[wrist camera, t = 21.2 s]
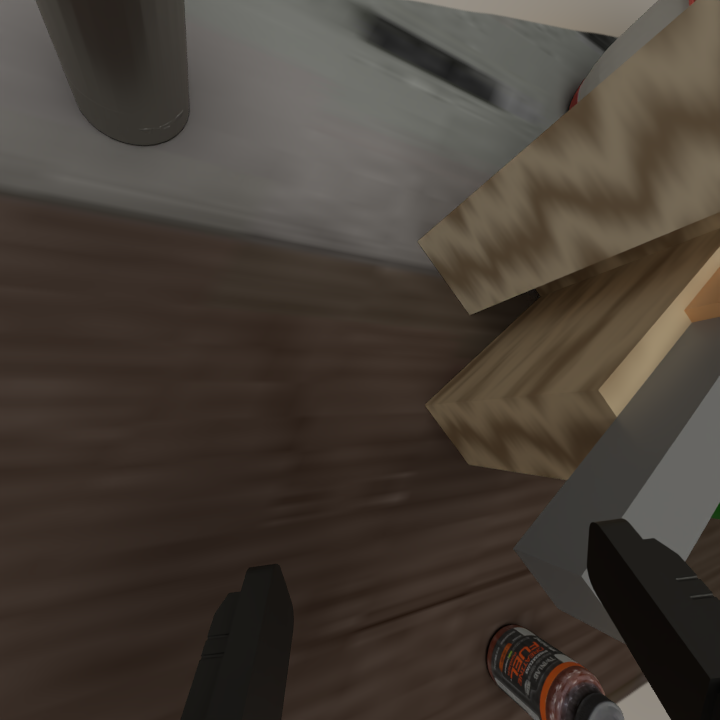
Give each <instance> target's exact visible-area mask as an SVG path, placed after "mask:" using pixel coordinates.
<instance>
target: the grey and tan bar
mask: <svg viewBox="0 0 720 720" xmlns="http://www.w3.org/2000/svg"><path fill="white" fill-rule="evenodd" d="M684 311H685V313H686V314H687V316H688V317H689V319H690V320H691V322H692V323H691V324H690V325H689V327H688V328H687V329H686V331H685V332H684V333H683V334H682V336H681V337H680V338H679V339H678V341H677V342H676V343H675V344H674V346H673V347H672V348H671V350H670V351H669V352H668V353H667V355H666V356H665V357H664V358H663V360H662V361H661V362H660V363H659V365H658V366H657V367H656V369H655V370H654V371H653V372H652V374H651V375H650V376H649V377H648V379H647V380H646V381H645V382H644V384H643V385H642V386H641V388H640V389H639V390H638V391H637V393H636V394H635V395H634V396H633V398H632V399H631V400H630V401H629V403H628V404H627V405H626V406H625V408H624V409H623V410H622V412H621V413H620V414H619V415H618V417H617V418H616V419H615V420H614V422H613V423H612V424H611V425H610V427H609V428H608V429H607V431H606V432H605V433H604V434H603V436H602V437H601V438H600V439H599V441H598V442H597V443H596V444H595V446H594V447H593V448H592V450H591V451H590V452H589V453H588V455H587V456H586V457H585V458H584V460H583V461H582V462H581V463H580V465H579V466H578V467H577V468H576V470H575V471H574V472H573V474H572V475H571V476H570V477H569V479H568V480H567V481H566V482H565V484H564V485H563V486H562V487H561V489H560V490H559V491H558V493H557V494H556V495H555V496H554V498H553V499H552V500H551V501H550V503H549V504H548V505H547V506H546V508H545V509H544V510H543V512H542V513H541V514H540V515H539V517H538V518H537V519H536V520H535V522H534V523H533V524H532V525H531V527H530V528H529V529H528V531H527V532H526V533H525V534H524V536H523V537H522V538H521V539H520V541H519V542H518V543H517V544H516V546H515V547H514V548H513V549H514V550H515V552H516V553H517V554H518V556H519V557H520V558H521V560H522V561H523V562H524V564H525V565H526V566H527V568H528V569H529V570H530V572H531V573H532V574H533V576H534V577H535V578H536V580H537V581H538V582H539V584H540V585H541V586H542V588H543V589H544V590H545V592H546V593H547V594H548V596H549V597H550V598H551V600H552V601H553V602H554V604H555V605H556V606H557V608H558V609H560V610H562V611H564V612H566V613H568V614H569V615H571V616H573V617H575V618H577V619H579V620H581V621H583V622H585V623H587V624H589V625H590V626H592V627H594V628H596V629H598V630H600V631H602V632H604V633H606V634H608V635H609V636H611V637H613V638H615V639H617V640H619V641H621V642H623V643H625V642H624V640H623V638H622V637H621V635H620V633H619V632H618V630H617V628H616V627H615V625H614V623H613V622H612V620H611V618H610V617H609V615H608V613H607V612H606V610H605V608H604V607H603V605H602V603H601V601H600V600H599V598H598V596H597V595H596V593H595V591H594V589H593V587H592V585H591V582H590V579H589V576H588V571H587V553H588V537H589V526H590V524H591V523H592V522H598V521H605V520H613V519H620V518H623V519H625V520H627V521H628V522H629V523H630V524H631V525H632V526H633V528H634V529H635V530H636V531H637V532H638V534H639V535H640V536H641V537H642V539H650V538H655V539H656V540H658V541H659V542H661V543H662V544H664V545H665V546H667V547H668V548H670V549H671V550H673V551H674V552H676V553H677V554H678V555H679V556H680V557H681V558H682V559H683V560H684V561H686V559H687V557H688V556H689V554H690V552H691V550H692V549H693V547H694V545H695V544H696V542H697V540H698V538H699V537H700V535H701V533H702V532H703V530H704V528H705V526H706V525H707V523H708V521H709V520H710V518H711V516H712V514H713V513H714V511H715V509H716V508H717V506H718V504H719V503H720V267H719V268H718V269H717V271H716V272H715V273H714V274H713V276H712V277H711V278H710V279H709V280H708V282H707V283H706V284H705V285H704V287H703V288H702V289H701V290H700V291H699V293H698V294H697V295H696V296H695V298H694V299H693V300H692V301H691V302H690V304H689V305H688V306H687V307H686V309H685V310H684ZM625 644H626V643H625Z"/></svg>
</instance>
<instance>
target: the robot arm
mask: <svg viewBox="0 0 720 720" xmlns="http://www.w3.org/2000/svg"><path fill="white" fill-rule="evenodd" d="M36 3H37V5H38V8H39V10H40V13H41V15H42V18H43V20H44V23H45V25H46V28H47V30H48V33H49V35H50V38H51V40H52V43H53V45H54V48H55V50H56V52H57V55H58V57H59V60H60V62H61V65H62V68H63V70H64V73H65V75H66V78H67V80H68V83H69V85H70V88H71V90H72V93H73V95H74V98H75V100H76V102H77V104H78V106H79V108H80V111H81V112H82V113H83V115H84V116H85V117H86V119H87V120H88V121H89V122H90V123H91V124H92V125H93V126H94V127H96V128H97V129H98V130H100V131H101V132H103V133H104V134H106V135H107V136H109V137H112V138H114V139H116V140H119V141H121V142H125V143H129V144H135V145H152V144H158V143H161V142H164V141H167V140H169V139H171V138H172V137H174V136H176V135H177V134H178V133H179V132H180V131H181V130H182V129H183V127H184V125H185V124H186V122H187V119H188V115H189V86H188V63H187V44H186V25H185V6H184V0H36ZM587 571H588V576H589V579H590V582H591V585H592V587H593V589H594V591H595V593H596V595H597V596H598V598H599V600H600V601H601V603H602V605H603V607H604V608H605V610H606V612H607V613H608V615H609V617H610V618H611V620H612V622H613V623H614V625H615V627H616V628H617V630H618V632H619V633H620V635H621V637H622V638H623V640H624V642H625V643H626V645H627V647H628V648H629V650H630V652H631V653H632V655H633V657H634V658H635V660H636V662H637V663H638V665H639V667H640V668H641V670H642V672H643V673H644V675H645V677H646V678H647V680H648V682H649V683H650V685H651V687H652V688H653V690H654V692H655V693H656V695H657V697H658V698H659V700H660V702H661V704H662V705H663V707H664V708H665V710H666V712H667V714H668V715H669V717H670V718H671V720H720V601H719V600H718V599H717V597H714V596H713V595H712V592H711V591H710V590H709V588H708V587H707V586H706V585H705V584H704V583H703V582H702V580H701V579H698V578H697V575H696V574H695V573H694V571H693V570H692V569H691V568H690V567H689V566H688V565H687V564H686V562H685V561H684V560H683V559H682V558H681V557H680V556H679V555H678V554H677V553H676V552H674V551H673V550H671V549H670V548H668V547H667V546H665V545H664V544H662V543H661V542H659V541H658V540H656V539H655V538H650V539H642V537H641V536H640V535H639V534H638V532H637V531H636V530H635V529H634V528H633V526H632V525H631V524H630V523H629V522H628V521H627V520H625V519H623V518H620V519H613V520H605V521H598V522H592V523H591V524H590V526H589V537H588V553H587ZM293 625H294V616H293V606H292V602H291V599H290V596H289V593H288V590H287V586H286V583H285V580H284V577H283V574H282V571H281V568H280V566H279V565H278V564H272V565H265V566H257V567H250V568H249V569H248V570H247V572H246V575H245V579H244V582H243V586H242V590H241V592H234V593H229V594H228V595H227V597H226V598H225V600H224V601H223V602H222V604H221V605H220V607H219V608H218V610H217V611H216V613H215V615H214V618H213V621H212V624H211V627H210V630H209V633H208V640H207V641H206V642H205V646H204V649H203V652H202V658H201V660H200V661H199V664H198V667H197V670H196V673H195V677H194V680H193V683H192V686H191V689H190V692H189V695H188V698H187V701H186V704H185V708H184V711H183V714H182V717H181V720H281V717H282V709H283V702H284V695H285V687H286V680H287V672H288V665H289V657H290V650H291V642H292V635H293Z"/></svg>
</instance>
